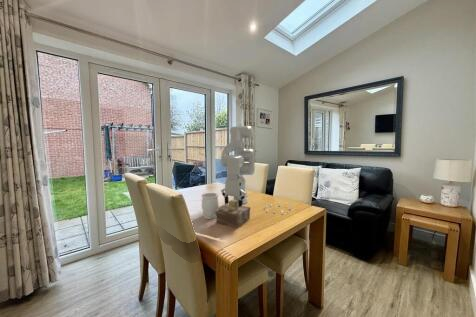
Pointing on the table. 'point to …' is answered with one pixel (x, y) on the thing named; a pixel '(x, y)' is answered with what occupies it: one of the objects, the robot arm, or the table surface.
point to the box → (232, 219)
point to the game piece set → (279, 205)
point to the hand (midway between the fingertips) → (233, 205)
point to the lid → (233, 209)
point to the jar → (209, 205)
